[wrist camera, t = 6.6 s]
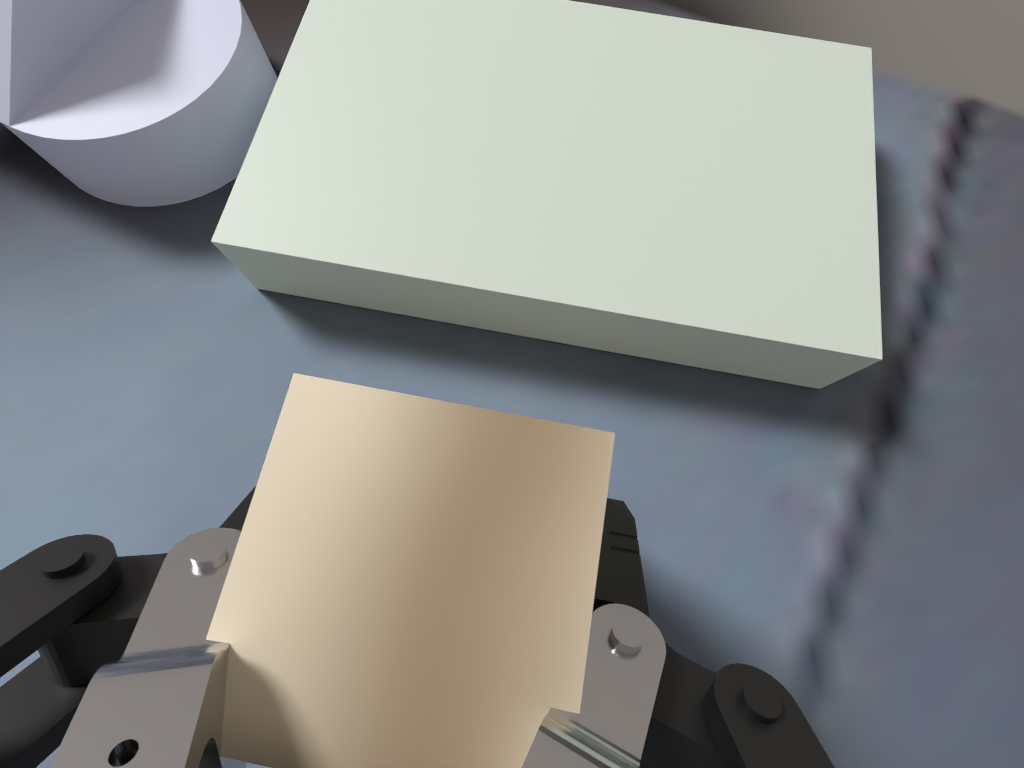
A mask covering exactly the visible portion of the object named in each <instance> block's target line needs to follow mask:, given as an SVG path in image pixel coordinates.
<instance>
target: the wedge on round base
mask: <svg viewBox="0 0 1024 768" xmlns="http://www.w3.org/2000/svg"><path fill="white" fill-rule="evenodd" d="M277 80H278V78H277V76H276V74H275V72H274V70H273V68H272V66H271V63H270V61H269V59H268V57H267V55H266V53H265V51H264V49H263V47H262V45H261V43H260V41H259V39H258V36H257V34H256V32H255V30H254V28H253V26H252V24H251V22H250V20H249V18H248V16H247V14H246V12H245V9H244V7H243V5H242V3H241V1H240V0H0V123H2V124H3V125H4V126H5V127H6V128H8V129H9V130H10V131H11V132H12V133H14V134H15V135H16V136H17V137H18V138H20V139H21V140H22V141H23V142H24V143H26V144H27V145H28V146H29V147H30V148H32V149H33V150H34V151H35V152H36V153H38V154H39V155H40V156H41V157H42V158H44V159H45V160H46V161H47V162H48V163H50V164H51V165H52V166H53V167H54V168H56V169H57V170H58V171H59V172H60V173H62V174H63V175H64V176H65V177H66V178H68V179H69V180H70V181H71V182H72V183H74V184H75V185H76V186H77V187H78V188H80V189H82V190H83V191H85V192H87V193H88V194H90V195H92V196H94V197H97V198H99V199H102V200H104V201H108V202H112V203H116V204H119V205H127V206H135V207H155V206H164V205H172V204H176V203H181V202H185V201H189V200H192V199H195V198H198V197H201V196H204V195H206V194H208V193H210V192H212V191H215V190H217V189H219V188H220V187H222V186H224V185H226V184H227V183H229V182H231V181H232V180H234V179H235V178H236V177H238V174H239V172H240V169H241V167H242V165H243V162H244V160H245V157H246V155H247V152H248V150H249V148H250V145H251V143H252V140H253V138H254V135H255V133H256V131H257V128H258V126H259V123H260V121H261V118H262V116H263V114H264V111H265V109H266V106H267V104H268V101H269V99H270V97H271V94H272V92H273V89H274V87H275V84H276V82H277Z"/></svg>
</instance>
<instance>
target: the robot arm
mask: <svg viewBox="0 0 1024 768" xmlns="http://www.w3.org/2000/svg"><path fill="white" fill-rule="evenodd" d="M256 486H257V485H256ZM256 486H255V487H254V489H253V490H252V491H251V492H250V493H249V494H248V495H247V497H246V498H245V499H244V500H243V501H242V502H241V503H240V505H239V506H238V507H237V508H236V509H235V510H234V511H233V513H232V514H231V515H230V516H229V517H228V518H227V519H226V521H225V522H224V523H223V524H222V525H221V526H220V527H219V528H213V529H208V530H204V531H201V532H197V533H195V534H193V535H190V536H189V537H187V538H185V539H183V540H182V541H180V542H179V543H178V544H176V545H175V546H174V547H173V548H172V549H171V550H170V552H169V553H164V554H153V555H139V556H124V557H117V554H116V551H115V548H114V545H113V543H112V542H111V541H110V540H108V539H107V538H105V537H102V536H98V535H89V534H84V535H75V536H69V537H65V538H61V539H58V540H55V541H52V542H50V543H48V544H45V545H43V546H41V547H39V548H37V549H35V550H34V551H32V552H30V553H29V554H27V555H25V556H24V557H22V558H20V559H19V560H17V561H15V562H14V563H12V564H10V565H9V566H7V567H5V568H4V569H2V570H0V677H2V676H3V675H4V674H6V673H7V672H8V671H10V670H11V669H12V668H14V667H15V666H16V665H18V664H19V663H20V662H22V661H23V660H24V659H26V658H27V657H28V656H30V655H31V654H32V653H34V652H35V651H36V650H38V652H39V654H40V656H41V657H39V658H38V659H37V660H35V661H34V662H33V663H31V664H30V665H29V666H28V667H26V668H25V669H24V670H22V671H21V672H20V673H18V674H17V675H16V676H14V677H13V678H12V679H10V680H9V681H8V682H7V683H5V684H4V685H3V686H1V687H0V768H36V767H37V766H38V765H39V764H40V763H41V762H42V761H43V760H45V759H46V758H47V757H48V756H49V755H50V754H51V753H52V752H53V751H54V750H55V749H56V748H58V747H59V746H60V747H59V749H58V751H57V753H56V755H55V757H54V759H53V762H52V764H51V766H50V768H246V762H244V761H239V760H235V759H230V758H225V757H220V755H221V742H222V730H223V717H224V705H225V692H226V679H227V667H228V654H229V643H224V642H218V641H211V640H206V637H207V634H208V631H209V628H210V625H211V622H212V619H213V616H214V613H215V610H216V607H217V604H218V601H219V598H220V595H221V592H222V589H223V586H224V583H225V580H226V577H227V574H228V571H229V568H230V565H231V561H232V558H233V555H234V552H235V549H236V546H237V543H238V540H239V537H240V534H241V531H242V528H243V525H244V522H245V519H246V516H247V513H248V510H249V507H250V504H251V501H252V498H253V495H254V492H255V489H256ZM639 552H640V551H639V545H638V540H637V531H636V524H635V518H634V517H633V515H632V514H631V512H630V511H629V509H628V508H627V506H626V504H625V503H624V501H619V500H614V499H609V498H607V501H606V509H605V517H604V525H603V533H602V541H601V549H600V556H599V564H598V572H597V580H596V588H595V596H594V604H593V612H592V620H591V627H590V635H589V643H588V651H587V659H586V667H585V675H584V683H583V691H582V698H581V706H580V714H578V713H573V712H568V711H563V710H559V709H555V708H552V707H551V708H550V710H549V712H548V714H547V715H545V717H544V719H543V721H542V723H541V725H540V727H539V729H538V731H537V734H536V736H535V738H534V740H533V743H532V745H531V747H530V750H529V752H528V754H527V756H526V759H525V761H524V763H523V766H522V768H834V766H833V764H832V763H831V761H830V759H829V757H828V756H827V754H826V752H825V751H824V749H823V747H822V746H821V744H820V742H819V740H818V739H817V737H816V735H815V734H814V732H813V730H812V729H811V727H810V725H809V723H808V722H807V720H806V718H805V717H804V715H803V713H802V712H801V710H800V708H799V707H798V705H797V703H796V702H795V700H794V699H793V697H792V696H791V695H790V693H789V692H788V691H787V690H786V689H785V688H784V687H783V686H782V685H781V684H780V683H779V682H778V681H777V680H776V679H774V678H773V677H772V676H770V675H769V674H767V673H766V672H764V671H762V670H760V669H758V668H756V667H753V666H750V665H746V664H730V665H727V666H725V667H723V668H722V669H721V670H720V671H719V672H718V673H717V674H716V673H714V672H712V671H710V670H708V669H706V668H704V667H702V666H700V665H698V664H696V663H695V662H693V661H691V660H689V659H687V658H685V657H683V656H681V655H680V654H678V653H677V652H676V651H674V650H673V649H672V648H671V647H669V646H668V645H667V644H666V643H665V641H664V638H663V636H662V634H661V632H660V630H659V629H658V627H657V626H656V625H655V623H654V622H653V621H652V620H651V619H650V617H649V612H648V606H647V599H646V592H645V585H644V578H643V572H642V565H641V558H640V555H639Z"/></svg>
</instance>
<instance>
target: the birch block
mask: <svg viewBox="0 0 1024 768" xmlns="http://www.w3.org/2000/svg"><path fill="white" fill-rule="evenodd" d="M614 438H615V433H612V432H607V431H602V430H596V429H591V428H586V427H580V426H575V425H569V424H564V423H559V422H553V421H548V420H543V419H537V418H532V417H527V416H521V415H516V414H510V413H505V412H500V411H494V410H489V409H484V408H478V407H473V406H468V405H462V404H457V403H451V402H446V401H441V400H435V399H430V398H425V397H419V396H414V395H409V394H403V393H398V392H392V391H387V390H382V389H376V388H371V387H366V386H360V385H355V384H350V383H344V382H339V381H334V380H328V379H323V378H317V377H312V376H307V375H301V374H296V373H294V374H293V377H292V380H291V383H290V386H289V389H288V392H287V395H286V398H285V401H284V404H283V407H282V410H281V413H280V416H279V419H278V422H277V426H276V429H275V432H274V435H273V438H272V441H271V444H270V447H269V450H268V453H267V456H266V459H265V462H264V465H263V468H262V471H261V474H260V477H259V480H258V483H257V486H256V489H255V492H254V495H253V498H252V501H251V504H250V507H249V510H248V513H247V516H246V519H245V522H244V525H243V528H242V531H241V534H240V537H239V540H238V543H237V546H236V549H235V552H234V555H233V558H232V561H231V565H230V568H229V571H228V574H227V577H226V580H225V583H224V586H223V589H222V592H221V595H220V598H219V601H218V604H217V607H216V610H215V613H214V616H213V619H212V622H211V625H210V628H209V631H208V634H207V637H206V640H211V641H218V642H224V643H229V654H228V667H227V679H226V692H225V705H224V717H223V730H222V742H221V755H220V757H225V758H230V759H235V760H239V761H244V762H249V763H254V764H258V765H263V766H268V767H273V768H522V766H523V763H524V761H525V759H526V756H527V754H528V752H529V750H530V747H531V745H532V743H533V740H534V738H535V736H536V734H537V731H538V729H539V727H540V725H541V723H542V721H543V719H544V717H545V715H547V714H548V712H549V710H550V708H551V707H552V708H555V709H559V710H563V711H568V712H573V713H578V714H580V706H581V698H582V691H583V683H584V675H585V667H586V659H587V651H588V643H589V635H590V627H591V620H592V612H593V604H594V596H595V588H596V580H597V572H598V564H599V556H600V549H601V541H602V533H603V525H604V517H605V509H606V501H607V493H608V485H609V478H610V470H611V462H612V454H613V446H614Z"/></svg>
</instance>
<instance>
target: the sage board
mask: <svg viewBox="0 0 1024 768" xmlns="http://www.w3.org/2000/svg"><path fill="white" fill-rule="evenodd" d="M211 242H212V243H213V244H214V245H215V246H216V247H217V248H218V249H219V250H220V251H221V252H222V253H223V254H224V255H225V256H226V257H227V259H228V260H229V261H230V262H231V263H232V264H233V265H234V266H235V267H236V268H237V269H238V270H239V271H240V272H241V273H242V274H243V275H244V276H245V277H246V278H247V279H248V280H249V281H250V282H251V283H252V284H253V285H254V286H255V287H256V288H257V289H261V290H267V291H273V292H278V293H284V294H289V295H295V296H301V297H306V298H312V299H317V300H323V301H329V302H334V303H340V304H345V305H351V306H357V307H362V308H368V309H373V310H379V311H385V312H390V313H396V314H401V315H407V316H413V317H418V318H424V319H429V320H435V321H441V322H446V323H452V324H457V325H463V326H469V327H474V328H480V329H485V330H491V331H497V332H502V333H508V334H514V335H519V336H525V337H530V338H536V339H542V340H547V341H553V342H558V343H564V344H570V345H575V346H581V347H586V348H592V349H598V350H603V351H609V352H614V353H620V354H626V355H631V356H637V357H642V358H648V359H654V360H659V361H665V362H670V363H676V364H682V365H687V366H693V367H698V368H704V369H710V370H715V371H721V372H726V373H732V374H738V375H743V376H749V377H754V378H760V379H766V380H771V381H777V382H782V383H788V384H794V385H799V386H805V387H811V388H816V389H821V388H823V387H825V386H827V385H830V384H832V383H834V382H836V381H838V380H840V379H842V378H844V377H847V376H849V375H851V374H853V373H855V372H857V371H859V370H861V369H864V368H866V367H868V366H870V365H872V364H874V363H876V362H878V361H881V360H883V359H882V331H881V303H880V276H879V248H878V220H877V193H876V165H875V137H874V110H873V82H872V54H871V48H868V47H861V46H855V45H849V44H842V43H835V42H829V41H823V40H817V39H811V38H804V37H798V36H792V35H785V34H779V33H772V32H766V31H760V30H753V29H746V28H740V27H734V26H728V25H722V24H715V23H709V22H703V21H696V20H690V19H684V18H677V17H671V16H664V15H658V14H652V13H645V12H639V11H633V10H626V9H620V8H614V7H607V6H601V5H595V4H588V3H582V2H575V1H569V0H310V2H309V4H308V7H307V9H306V11H305V14H304V16H303V19H302V21H301V24H300V26H299V28H298V31H297V33H296V36H295V38H294V41H293V43H292V45H291V48H290V50H289V53H288V55H287V58H286V60H285V63H284V65H283V67H282V70H281V72H280V75H279V77H278V80H277V82H276V84H275V87H274V89H273V92H272V94H271V97H270V99H269V101H268V104H267V106H266V109H265V111H264V114H263V116H262V118H261V121H260V123H259V126H258V128H257V131H256V133H255V135H254V138H253V140H252V143H251V145H250V148H249V150H248V152H247V155H246V157H245V160H244V162H243V165H242V167H241V169H240V172H239V174H238V177H237V179H236V182H235V184H234V186H233V189H232V191H231V194H230V196H229V199H228V201H227V203H226V206H225V208H224V211H223V213H222V216H221V218H220V220H219V223H218V225H217V228H216V230H215V233H214V235H213V238H212V240H211Z"/></svg>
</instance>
